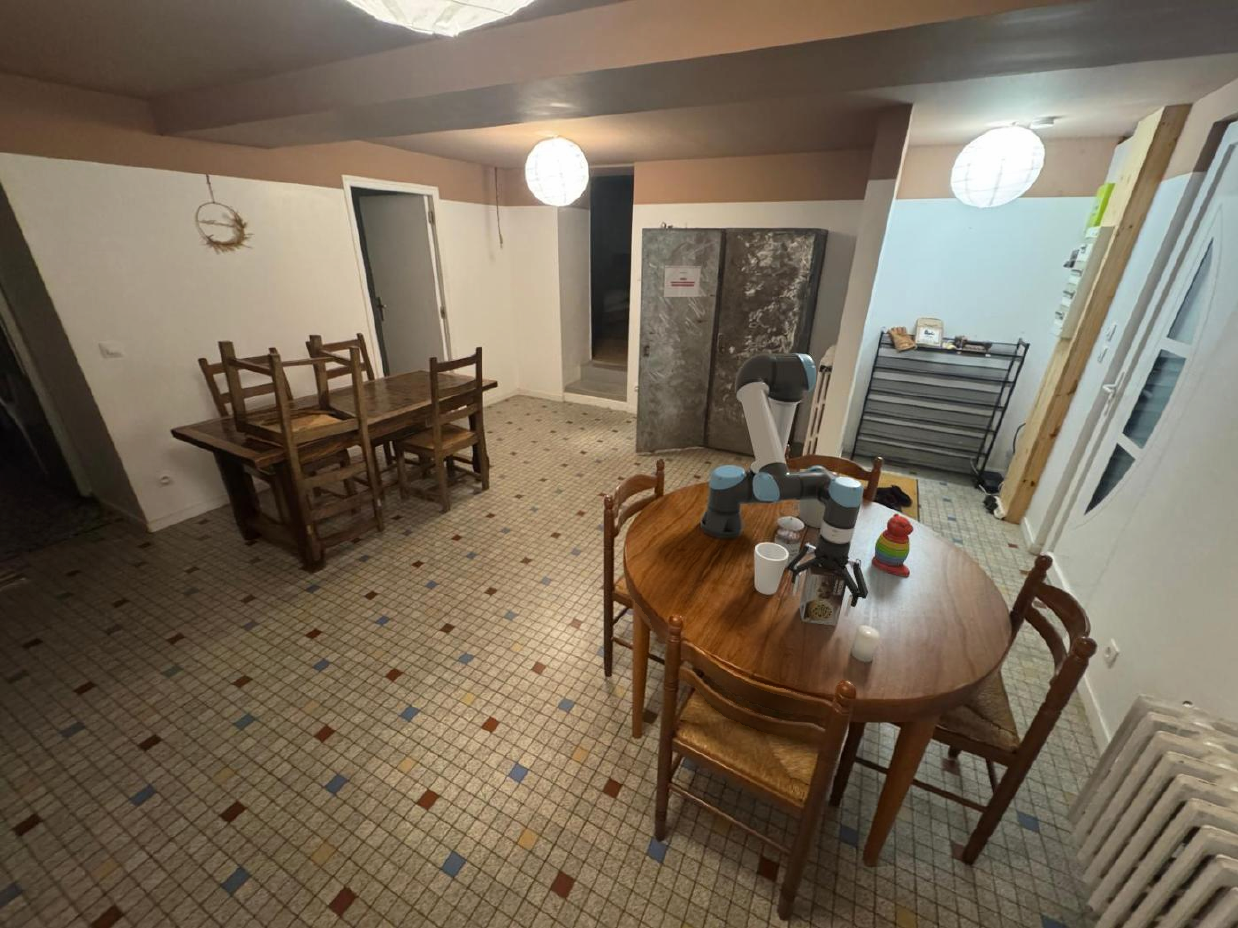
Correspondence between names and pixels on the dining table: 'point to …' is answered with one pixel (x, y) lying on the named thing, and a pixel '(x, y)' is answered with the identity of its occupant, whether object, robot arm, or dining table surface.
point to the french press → (789, 535)
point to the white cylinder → (865, 643)
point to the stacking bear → (893, 546)
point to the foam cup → (769, 566)
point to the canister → (811, 512)
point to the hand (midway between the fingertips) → (820, 603)
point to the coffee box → (822, 595)
